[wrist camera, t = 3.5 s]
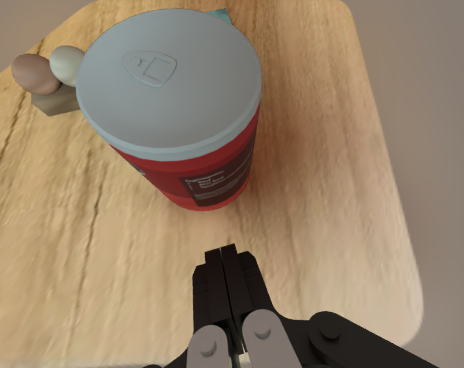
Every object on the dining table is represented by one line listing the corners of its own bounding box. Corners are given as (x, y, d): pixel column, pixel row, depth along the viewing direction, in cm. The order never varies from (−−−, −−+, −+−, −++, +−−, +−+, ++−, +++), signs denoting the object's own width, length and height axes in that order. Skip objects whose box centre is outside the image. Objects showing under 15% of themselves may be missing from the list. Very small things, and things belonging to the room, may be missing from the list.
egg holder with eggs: (48, 117, 22) (-2, 80, 17) (47, 91, 23) (0, 49, 18) (112, 102, 22) (81, 61, 18) (109, 77, 23) (78, 32, 19)
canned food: (171, 125, 21) (108, -3, 11) (255, 138, 21) (274, 15, 10) (147, 204, 19) (38, 136, 9) (242, 221, 18) (249, 169, 8)
